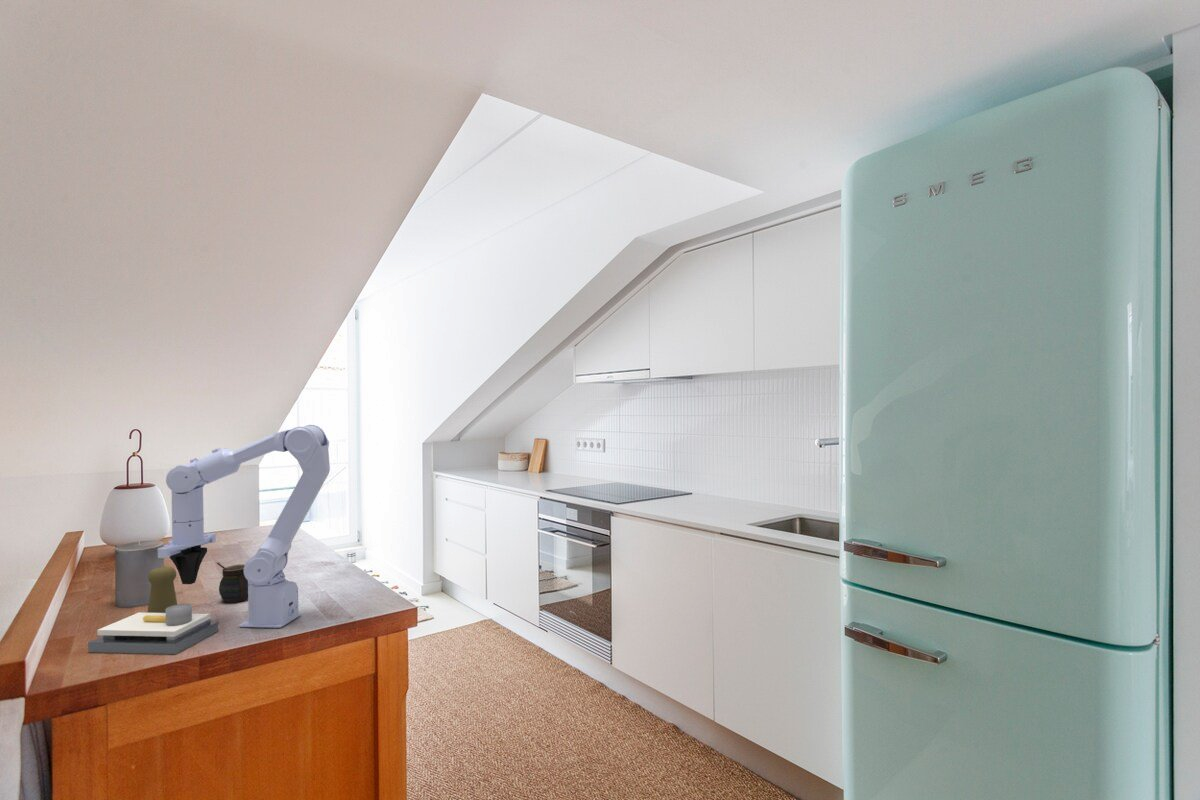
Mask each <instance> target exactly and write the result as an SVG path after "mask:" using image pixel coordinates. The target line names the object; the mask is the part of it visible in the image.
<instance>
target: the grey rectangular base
mask: <svg viewBox="0 0 1200 800" xmlns="http://www.w3.org/2000/svg"><path fill="white" fill-rule="evenodd" d="M218 632H219V621H211V618H210V619H208V620H207V621H205V622H203V623H201V624H199V625H197V626H195V627H193V628H191V629H189V630H187V631H185V632H183V633H181V634H179V635H177V636H175V637H162V636H113V635H100V636H99V637H97V638H94V639H92V640H89V641H88V642H87V650H88V651H87V652H88V653H97V654H98V653H99V654H103V653H105V654H138V655H139V654H140V655H141V654H142V655H143V654H144V655H177V654H179V653H181V652H183V651H185V650H186V649H188V648H190V647H192V646H193V645H197V643H199V642H201V641H203V640H205V639H206V638H209V637H211V636H212V635H214V634H215V633H218Z"/></svg>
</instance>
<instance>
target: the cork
mask: <svg viewBox="0 0 1200 800" xmlns="http://www.w3.org/2000/svg"><path fill="white" fill-rule="evenodd" d="M176 576H177V571H176V569H175V568H174V567H172V566H164V567H160V568H156V569H153V570H151V571H150V573H149V575H148V580H149V582H150V583H151V590H150V597H149V604H148V605H147V606H148V607H147V612H146V613H166V608H168V607H170V606H173V605H178V600H177V595H176V589H175V582H174V581H175V579H176Z"/></svg>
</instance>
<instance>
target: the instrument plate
mask: <svg viewBox="0 0 1200 800" xmlns="http://www.w3.org/2000/svg"><path fill="white" fill-rule="evenodd" d="M208 619H210V620H211V613H193V605H192V604H191V603H179V604H178V603H177V605H173V606H170V607H168V608H166V613H147V612H136V613H135V614H133V615H130V616H128V617H127V616H126V617H125V618H122V619H119V620H118V621H116V622H113V623H110V624H108V625H106V626H103V627H101V628H98V629H97V631H96V633H97V634H96V635H97V636H103V635H113V636H162V637H175V636H177V635H179V634H181V633H183V632H185V631H187V630H189V629H191V628H193V627H195V626H197V625H199V624H201V623H203V622H205V621H207V620H208Z"/></svg>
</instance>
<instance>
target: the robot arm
mask: <svg viewBox="0 0 1200 800" xmlns="http://www.w3.org/2000/svg"><path fill="white" fill-rule="evenodd" d="M329 447H330V441H329V439H328V437H327V435H326V433H325V431H324V430H323V428H321V427H320V426H318V425H315V424H307V425H305V426H295V427H293V428H291V429H286V430H280V431H278V432H273V433H271V434H269V435H267V436H265V437H263V438H259V439H258V440H256V441H253V442H251V443H249V444H247V445H244V446H242V447H240V448H237V449H235V450H232V449H229V448H221V447H217V448H215V449H211V453H209V454H207V455H204V456H202V457H199V458H197V457H193V458H192V459H190V460H189V462H190V463H188V464H187V463H186V464H179V465H176V466H175V467H173V468H171V469H170V470H169V471H168V472H167V474H166V477H165V483H166V485H167V487H168V489H169V490H171V540H168V541H167V542H168V543H167V544H165V545H163V547H162V548H159V549H158V558H164V559H168V558H170V560H171V561H172V563H173V564H174V566H175V568H176V569H177V572H178V575H179V578H180V582H181V584H182V585H192V584H195V583H196V581H197V577H198V573H199V570H200V567H201V564H202V562H203V560H204V557H206V554H207V553H208V547H205V546H204V545H207V544H212V543H213V544H214V543H216V542H217V541H216V539H217V538H216V537H217V535H216V533H214V532H213V533H212V532H211V533H205V530H204V529H205V528H204V524H205V523H204V522H205V521H204V519H205V518H204V487H205V485H208V484H210V483H213V482H216V481H218V480H220V479H223V478H225V477H227V476H230V475H233V474H234V473H237V472H238V470H239V468H240V467H241V464H243V463H246V462H248V461H251V460H254V459H256V458H259V457H262V456H264V455H266V454H270V453H272V452H274V451H275V452H281V453H285V452H288V453H289V454H291V456H293V457H294V459H296V461H297V462H298V465H299V466H300V468H301V471H302V474H301V476H300V477H299V480H298V481H297V483H296V485H295V487H294V489H293V490H292V492H291V495H290V496H289V498H288V499H287V502H285V505H284V507H283V509H282V510H281V512H280V514H279V516H278V517H277V519H276V521H275V523H274V525H273V527H272V529H271V531H270V533H269V534H268V536H267V537H266V538H265V540H264V541H263V543H262V544H261V545H260V547H259V548H258V550H257V551H256V553H255V554H254V555H253V556H251V557H250V558H249V559H248V560H247V561H246V562H245V563H244V564H245V566H244V576H245V578H246V579H247V580H248V598H247V606H248V607H247V608H248V610H247V611H248V612H247V613H248V615H247V617H248V619H247V620H244V621H243V622H241V623H239V624H238V626H239V627H240V628H272V629H273V628H274V629H275V628H278V629H279V628H283V627H284V626H286V625H287V624H289V623H290V622H292V621H294V620H295V619H297V618H299V617H300V616H301V613H300V612H299V586H298V585H297V582H295V581H290V580H287V579H286V575H285V573H284V569H286V567H287V565H288V562H289V557H288V556H289V551H290V550H291V548H292V542H293V540H294V539H295V536H296V535H297V533H298V531H299V529H300V528H301V525H302V524H303V521H304V520H305V519H306V516H307V514H308V512H309V511H310V509H311V507H312V505H313V503H314V502H315V500H316V498H317V496H318V495H319V493H320V491H321V489H322V487H323V485H324V484H325V481H326V480H327V477H328V476H329V474H330V471H331V465H330V464H331V463H330V454H329ZM203 546H204V547H203Z"/></svg>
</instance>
